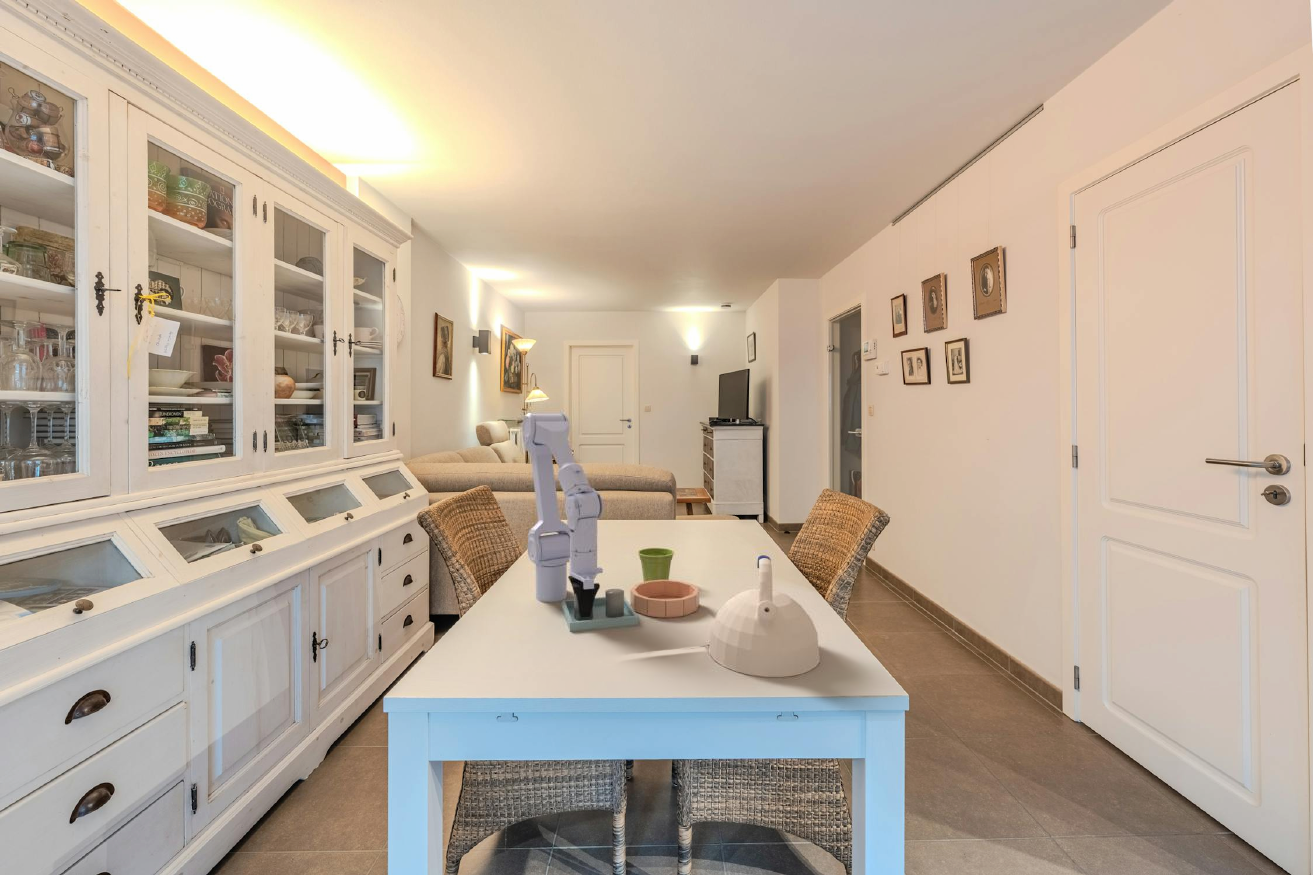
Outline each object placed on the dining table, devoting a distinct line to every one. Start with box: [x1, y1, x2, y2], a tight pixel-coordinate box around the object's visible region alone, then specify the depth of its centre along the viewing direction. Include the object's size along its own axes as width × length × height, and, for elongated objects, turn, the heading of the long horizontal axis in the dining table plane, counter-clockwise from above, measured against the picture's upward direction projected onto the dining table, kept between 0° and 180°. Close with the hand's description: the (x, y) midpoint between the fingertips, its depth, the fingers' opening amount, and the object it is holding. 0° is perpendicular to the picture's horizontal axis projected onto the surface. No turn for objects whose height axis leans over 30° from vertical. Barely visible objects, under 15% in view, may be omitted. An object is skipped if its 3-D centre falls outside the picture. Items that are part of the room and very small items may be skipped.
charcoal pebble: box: [573, 593, 593, 621], centre depth 121 cm, size 4×4×5 cm
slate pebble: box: [604, 588, 625, 618], centre depth 123 cm, size 4×4×5 cm
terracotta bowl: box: [629, 579, 700, 619], centre depth 129 cm, size 15×15×4 cm
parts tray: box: [561, 596, 639, 633], centre depth 122 cm, size 14×14×2 cm
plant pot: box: [637, 547, 675, 582], centre depth 147 cm, size 9×9×9 cm
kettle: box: [708, 555, 821, 678], centre depth 106 cm, size 20×21×18 cm
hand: (583, 612), depth 121 cm, fingers closed on charcoal pebble, 4 cm apart
